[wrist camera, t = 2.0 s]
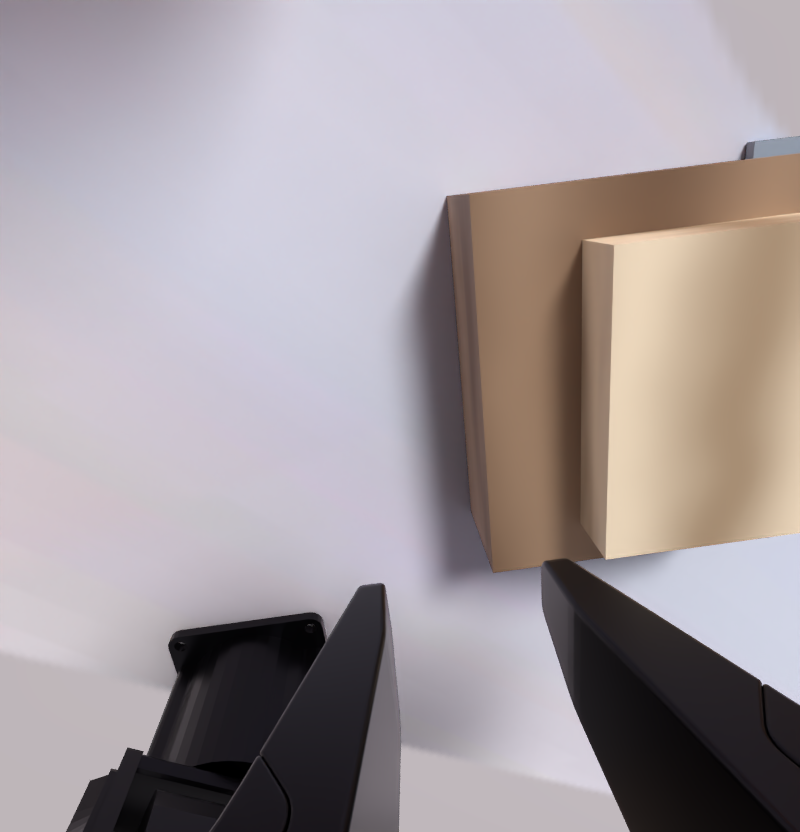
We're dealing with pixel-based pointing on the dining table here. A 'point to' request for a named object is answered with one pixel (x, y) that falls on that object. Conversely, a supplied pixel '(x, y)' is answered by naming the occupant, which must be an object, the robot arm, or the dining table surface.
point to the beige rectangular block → (691, 386)
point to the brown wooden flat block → (559, 330)
